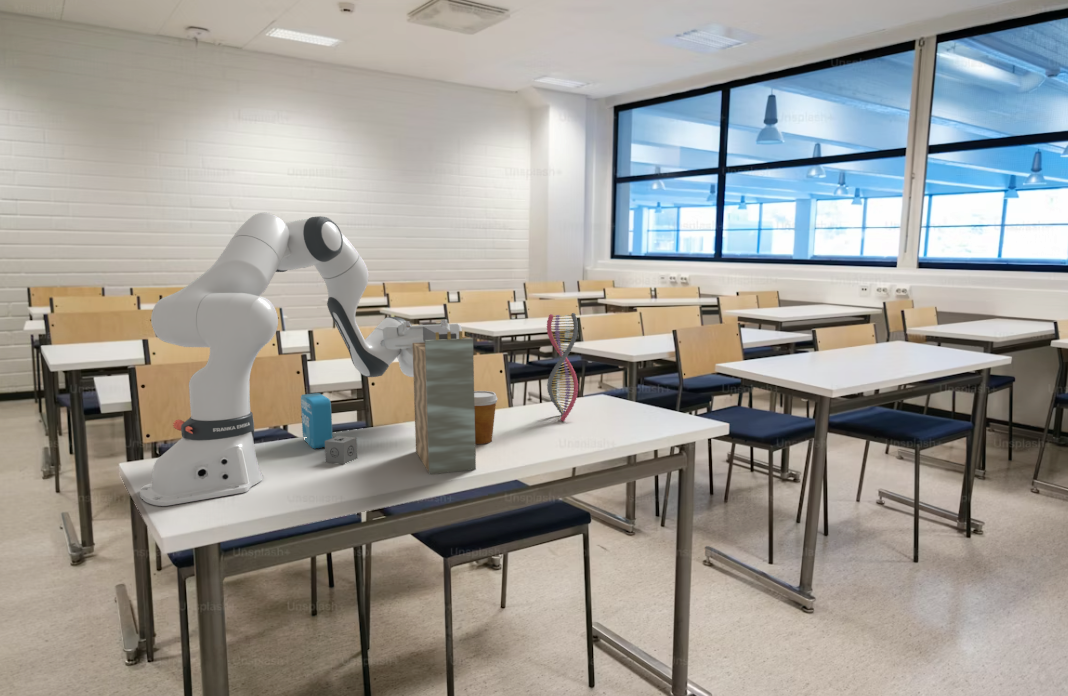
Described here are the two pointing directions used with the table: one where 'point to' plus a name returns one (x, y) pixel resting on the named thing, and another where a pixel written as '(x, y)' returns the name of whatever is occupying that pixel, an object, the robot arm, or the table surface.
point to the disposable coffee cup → (484, 415)
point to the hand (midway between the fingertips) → (426, 323)
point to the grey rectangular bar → (430, 331)
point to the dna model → (561, 361)
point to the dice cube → (340, 449)
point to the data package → (316, 419)
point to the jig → (444, 403)
